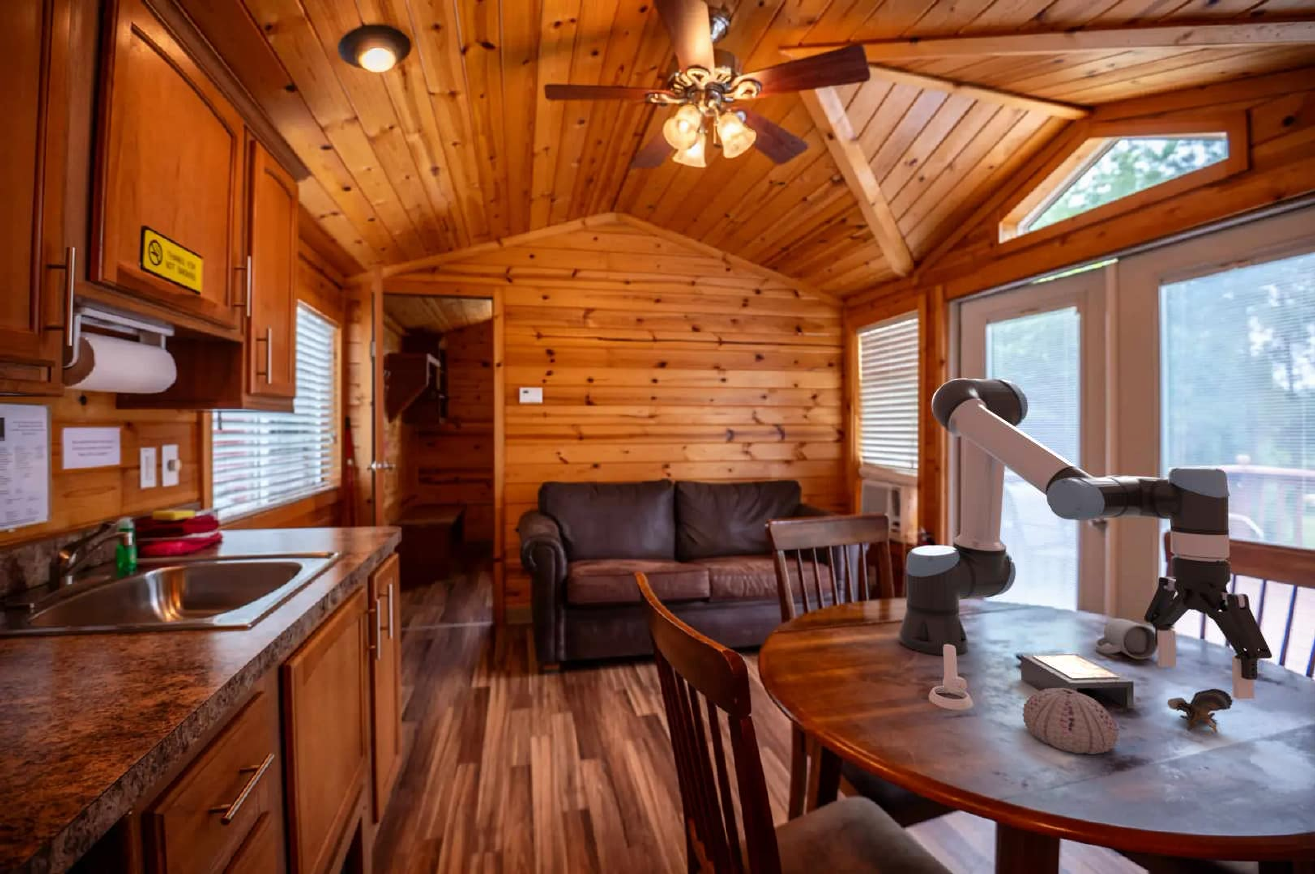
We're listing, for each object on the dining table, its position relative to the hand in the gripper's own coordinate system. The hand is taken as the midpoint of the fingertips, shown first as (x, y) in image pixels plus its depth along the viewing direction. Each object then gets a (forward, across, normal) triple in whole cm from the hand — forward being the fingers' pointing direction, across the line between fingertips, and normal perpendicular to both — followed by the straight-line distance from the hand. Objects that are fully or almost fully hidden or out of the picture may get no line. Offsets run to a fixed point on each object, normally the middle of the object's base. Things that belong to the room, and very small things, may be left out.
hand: (1202, 681), depth 101 cm
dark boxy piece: (+8, +15, +11) cm, 21 cm away
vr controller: (+8, +13, +37) cm, 40 cm away
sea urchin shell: (+9, -2, +25) cm, 27 cm away
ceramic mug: (+8, +36, -16) cm, 40 cm away
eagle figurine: (+9, +2, -1) cm, 9 cm away
